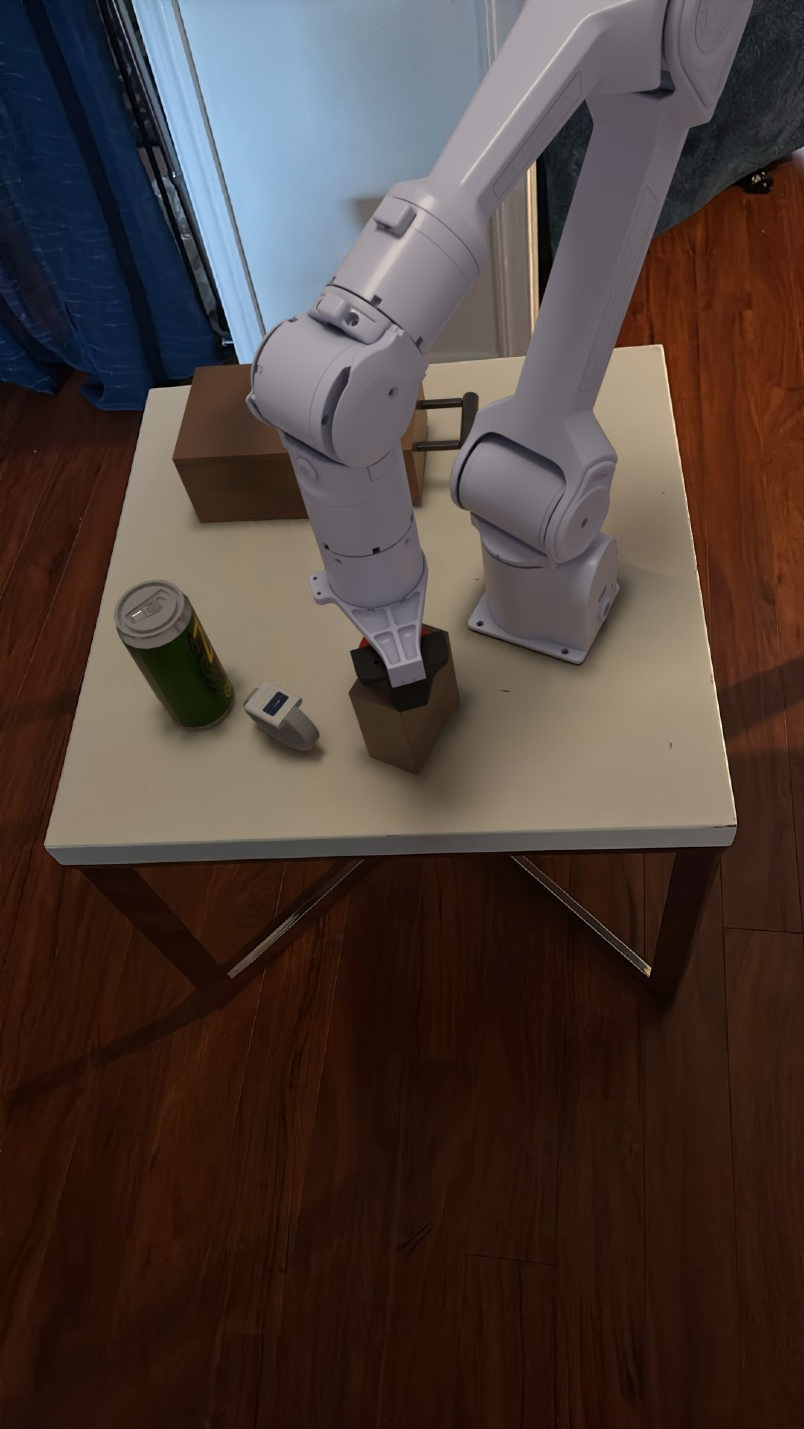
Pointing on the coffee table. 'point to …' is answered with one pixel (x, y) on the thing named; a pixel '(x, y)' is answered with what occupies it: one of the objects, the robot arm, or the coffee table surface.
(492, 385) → the coffee table surface
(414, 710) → the stand
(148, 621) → the beer can
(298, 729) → the wristwatch
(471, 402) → the drawer
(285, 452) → the cabinet
